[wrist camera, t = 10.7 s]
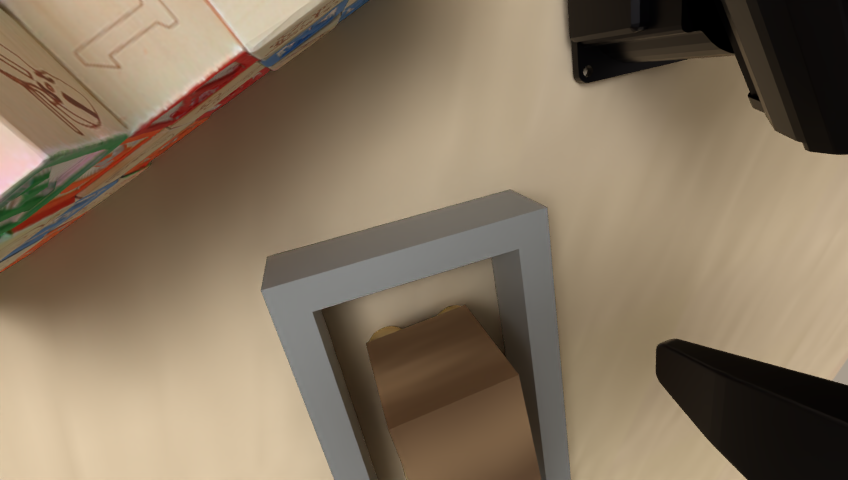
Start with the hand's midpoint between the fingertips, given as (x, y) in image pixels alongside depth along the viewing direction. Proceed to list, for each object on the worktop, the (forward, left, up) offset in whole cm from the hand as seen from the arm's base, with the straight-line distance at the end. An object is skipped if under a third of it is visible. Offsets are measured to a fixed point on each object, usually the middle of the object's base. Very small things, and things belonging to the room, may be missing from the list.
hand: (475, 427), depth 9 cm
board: (-1, +10, -10) cm, 14 cm away
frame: (-1, +10, -12) cm, 16 cm away
